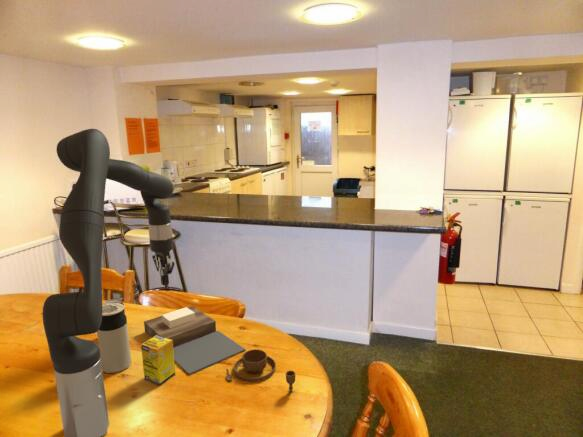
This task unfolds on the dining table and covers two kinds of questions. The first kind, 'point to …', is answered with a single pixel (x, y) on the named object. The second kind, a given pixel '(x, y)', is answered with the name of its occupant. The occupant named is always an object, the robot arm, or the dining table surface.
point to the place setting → (259, 367)
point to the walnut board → (181, 328)
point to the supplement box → (158, 359)
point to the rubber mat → (205, 352)
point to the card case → (178, 317)
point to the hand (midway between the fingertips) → (165, 284)
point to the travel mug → (114, 339)
